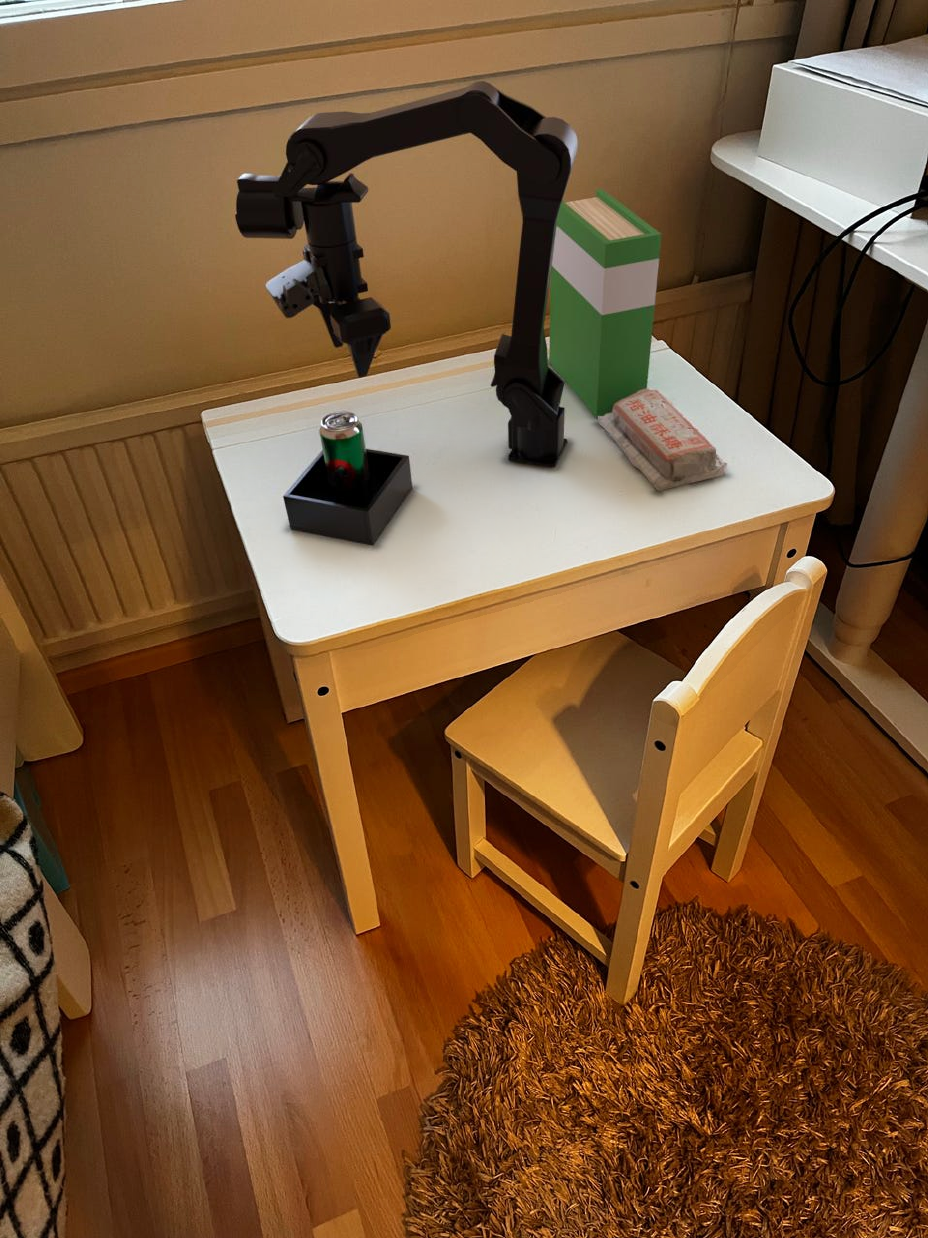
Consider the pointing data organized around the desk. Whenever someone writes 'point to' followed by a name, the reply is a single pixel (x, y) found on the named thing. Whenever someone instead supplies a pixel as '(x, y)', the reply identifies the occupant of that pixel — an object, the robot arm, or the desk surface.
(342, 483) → the soda can
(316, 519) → the open black square box
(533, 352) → the robot arm
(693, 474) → the packaged product
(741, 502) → the desk surface
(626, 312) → the hardback book
